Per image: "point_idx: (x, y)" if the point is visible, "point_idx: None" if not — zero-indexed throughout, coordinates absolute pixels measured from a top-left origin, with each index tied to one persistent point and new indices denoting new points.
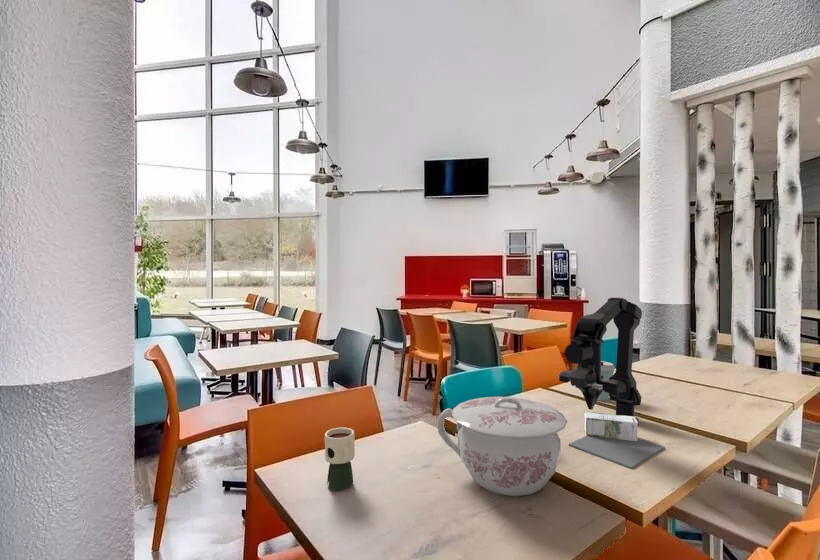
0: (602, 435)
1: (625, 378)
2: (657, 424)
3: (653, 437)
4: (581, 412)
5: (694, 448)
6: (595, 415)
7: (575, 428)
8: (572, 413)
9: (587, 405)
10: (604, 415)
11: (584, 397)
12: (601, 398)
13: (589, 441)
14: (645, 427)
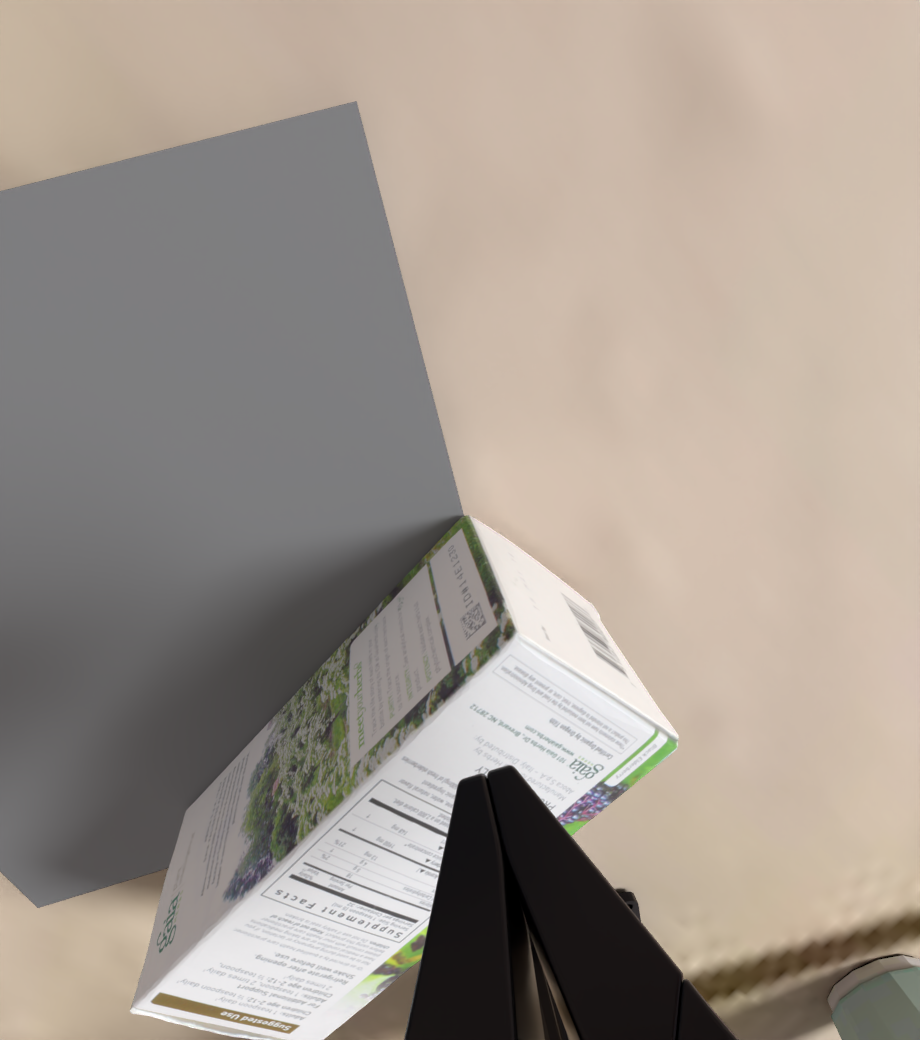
0: (362, 632)
1: None
2: None
3: None
4: (831, 794)
5: (14, 1023)
6: None
7: (665, 556)
8: (868, 732)
9: (544, 816)
10: None
11: (698, 1010)
12: (857, 995)
13: (327, 431)
14: (416, 970)
